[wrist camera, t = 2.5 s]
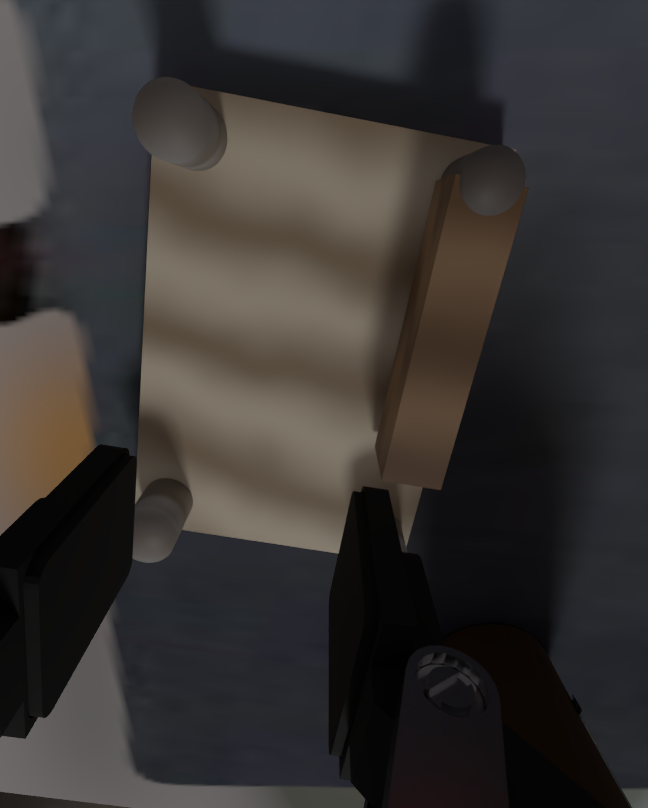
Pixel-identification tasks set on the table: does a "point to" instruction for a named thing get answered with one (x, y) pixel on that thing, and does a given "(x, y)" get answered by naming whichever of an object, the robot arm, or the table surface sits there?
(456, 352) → the folding leg
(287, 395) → the stool seat
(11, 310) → the table surface
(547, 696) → the olive oil
